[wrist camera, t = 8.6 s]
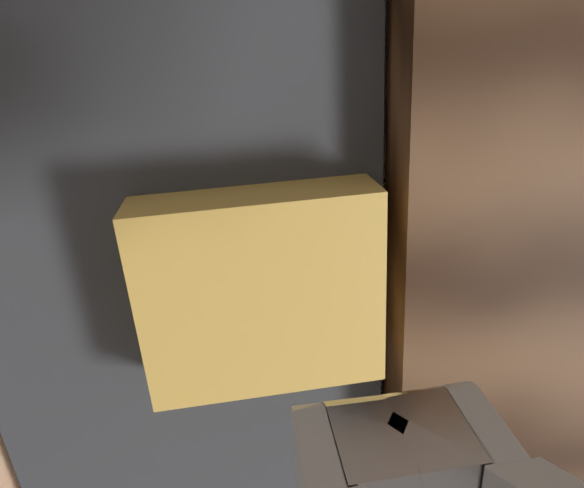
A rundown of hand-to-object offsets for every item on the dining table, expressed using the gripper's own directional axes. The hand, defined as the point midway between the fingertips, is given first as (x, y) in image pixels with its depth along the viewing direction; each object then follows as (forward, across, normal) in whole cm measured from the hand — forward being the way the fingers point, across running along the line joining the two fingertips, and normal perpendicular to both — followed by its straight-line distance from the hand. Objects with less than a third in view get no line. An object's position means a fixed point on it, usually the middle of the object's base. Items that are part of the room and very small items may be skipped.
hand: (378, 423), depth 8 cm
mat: (+8, +4, +1) cm, 9 cm away
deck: (+8, -8, +1) cm, 11 cm away
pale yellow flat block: (+8, +2, +1) cm, 8 cm away
